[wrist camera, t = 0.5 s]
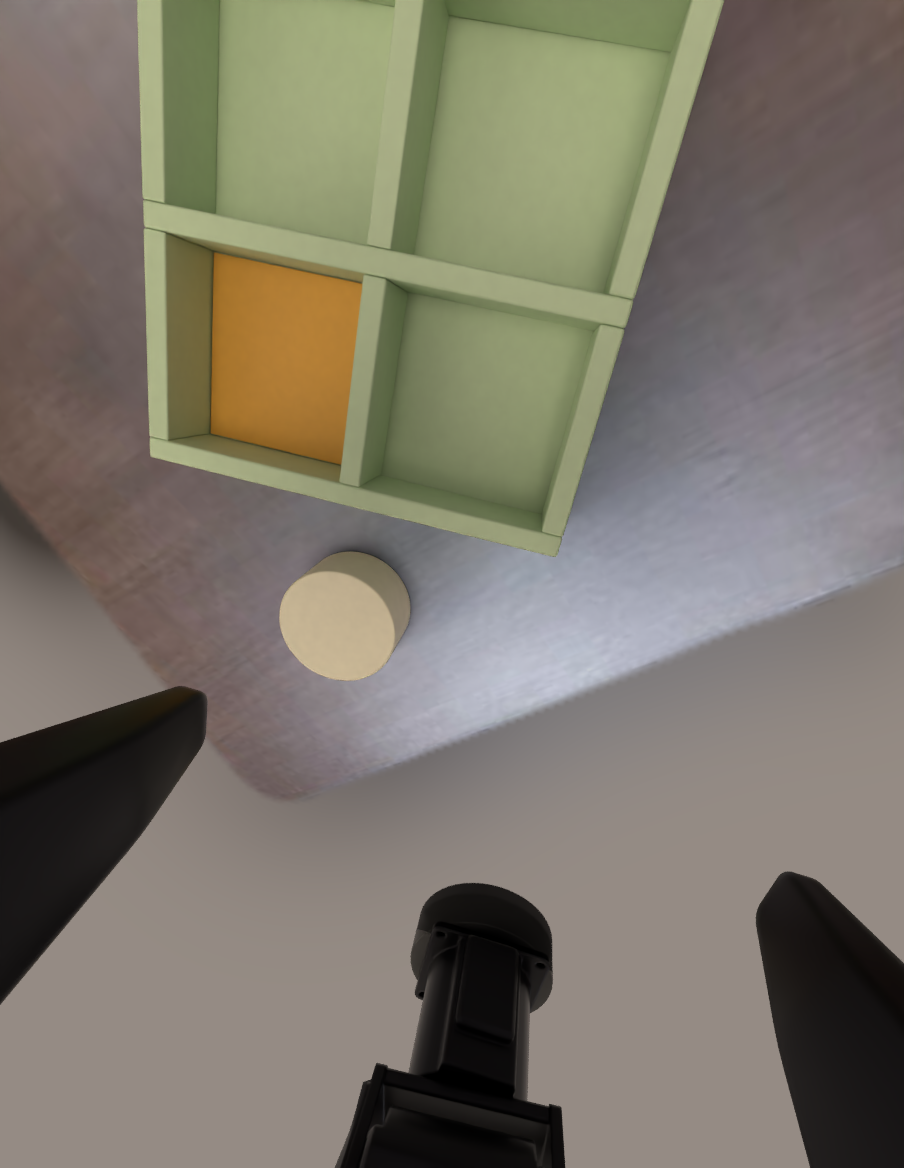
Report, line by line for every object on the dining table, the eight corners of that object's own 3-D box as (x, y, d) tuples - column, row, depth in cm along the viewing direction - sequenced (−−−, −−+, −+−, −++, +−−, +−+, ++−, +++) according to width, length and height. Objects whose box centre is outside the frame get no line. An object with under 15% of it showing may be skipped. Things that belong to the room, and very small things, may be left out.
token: (401, 663, 22) (385, 694, 20) (301, 636, 23) (274, 664, 21) (419, 566, 21) (404, 589, 18) (310, 538, 21) (283, 557, 19)
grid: (555, 533, 19) (556, 558, 17) (202, 446, 20) (149, 457, 18) (701, 34, 14) (740, -52, 11) (208, -46, 15) (131, -142, 12)
